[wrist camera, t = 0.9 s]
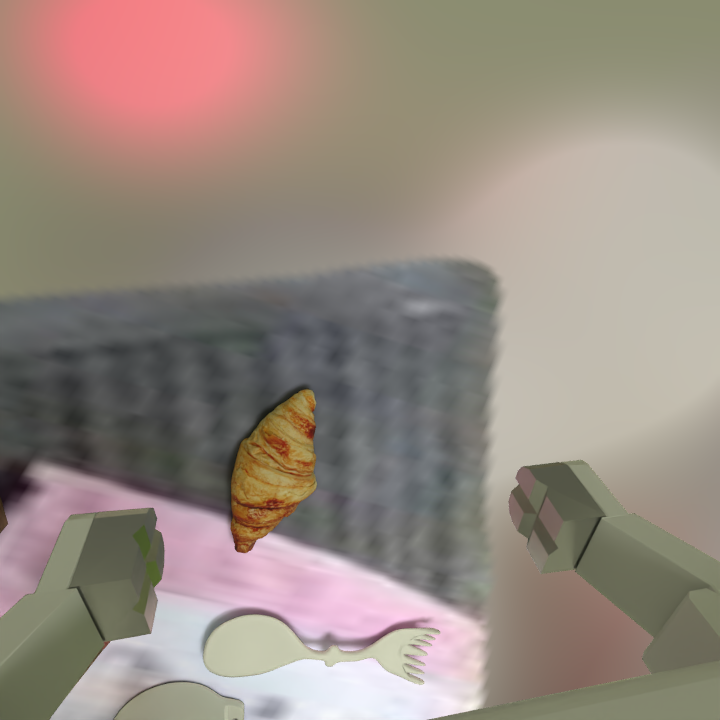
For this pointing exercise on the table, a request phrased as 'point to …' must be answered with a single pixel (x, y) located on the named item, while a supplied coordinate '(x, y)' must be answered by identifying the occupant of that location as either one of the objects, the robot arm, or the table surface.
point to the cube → (2, 517)
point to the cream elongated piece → (302, 649)
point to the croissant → (273, 470)
